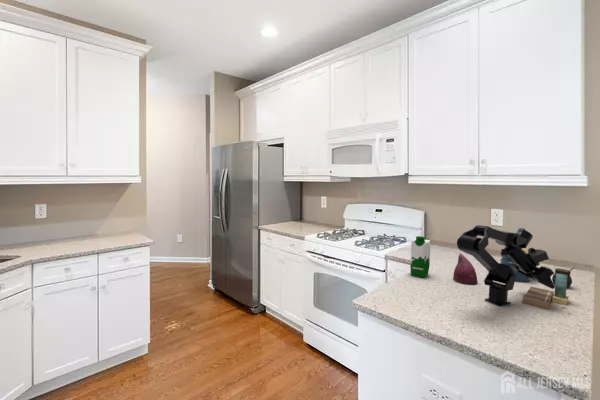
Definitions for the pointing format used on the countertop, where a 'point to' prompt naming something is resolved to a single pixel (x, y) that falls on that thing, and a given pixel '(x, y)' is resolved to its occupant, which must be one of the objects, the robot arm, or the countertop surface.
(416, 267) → the milk carton
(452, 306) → the countertop surface
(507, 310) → the countertop surface
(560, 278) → the teal column with base
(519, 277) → the canister
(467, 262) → the vegetable
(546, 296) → the board
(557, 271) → the mate gourd
